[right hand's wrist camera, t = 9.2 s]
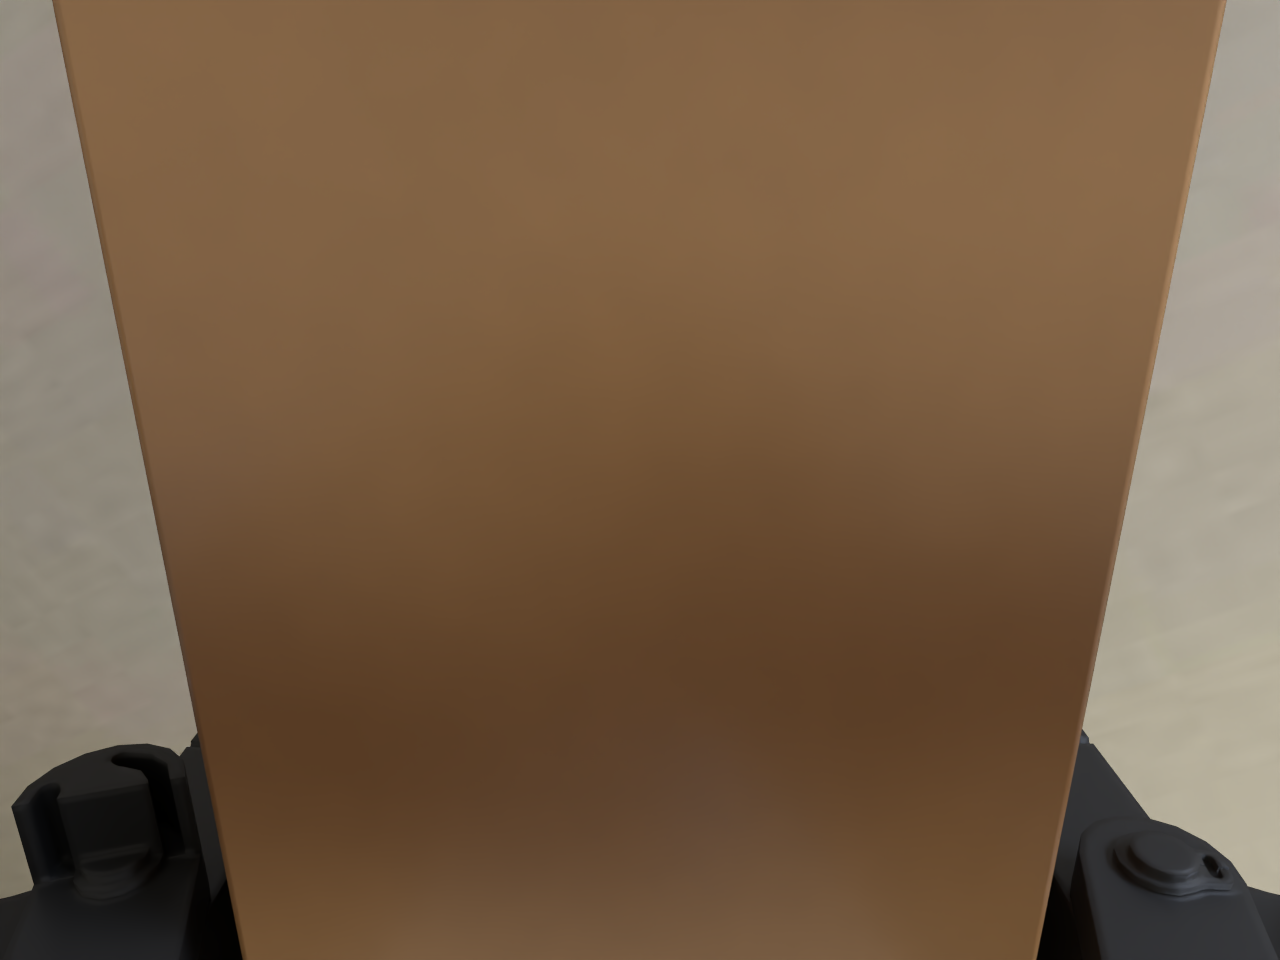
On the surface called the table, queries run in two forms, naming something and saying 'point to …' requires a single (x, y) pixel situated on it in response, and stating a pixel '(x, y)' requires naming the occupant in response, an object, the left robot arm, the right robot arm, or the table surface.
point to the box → (639, 449)
